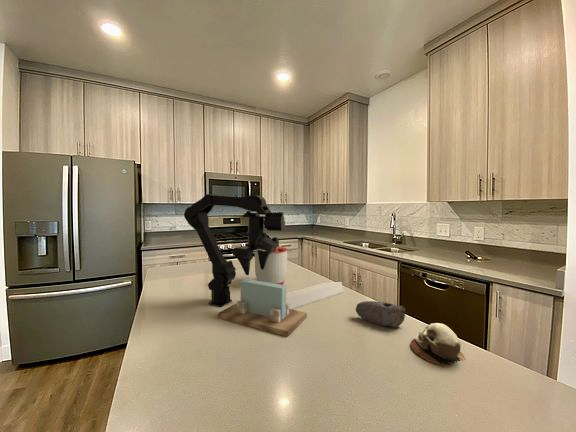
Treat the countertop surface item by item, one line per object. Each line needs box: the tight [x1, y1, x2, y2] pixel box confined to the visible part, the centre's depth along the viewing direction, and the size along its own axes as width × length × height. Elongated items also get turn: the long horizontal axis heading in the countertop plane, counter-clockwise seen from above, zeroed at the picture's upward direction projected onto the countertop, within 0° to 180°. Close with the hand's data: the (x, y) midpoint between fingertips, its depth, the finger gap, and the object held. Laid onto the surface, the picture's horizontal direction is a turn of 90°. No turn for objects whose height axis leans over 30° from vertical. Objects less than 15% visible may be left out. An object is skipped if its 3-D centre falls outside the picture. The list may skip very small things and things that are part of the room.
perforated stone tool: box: [355, 300, 406, 329], centre depth 78 cm, size 15×5×7 cm, turn 54°
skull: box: [410, 322, 466, 368], centre depth 63 cm, size 12×10×10 cm
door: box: [240, 278, 287, 320], centre depth 81 cm, size 16×3×10 cm, turn 63°
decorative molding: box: [286, 281, 344, 310], centre depth 99 cm, size 34×5×10 cm
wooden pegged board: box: [217, 300, 308, 338], centre depth 82 cm, size 26×14×5 cm, turn 63°
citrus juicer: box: [253, 246, 288, 285], centre depth 116 cm, size 16×17×20 cm
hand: (255, 272), depth 90 cm, fingers open, 9 cm apart
